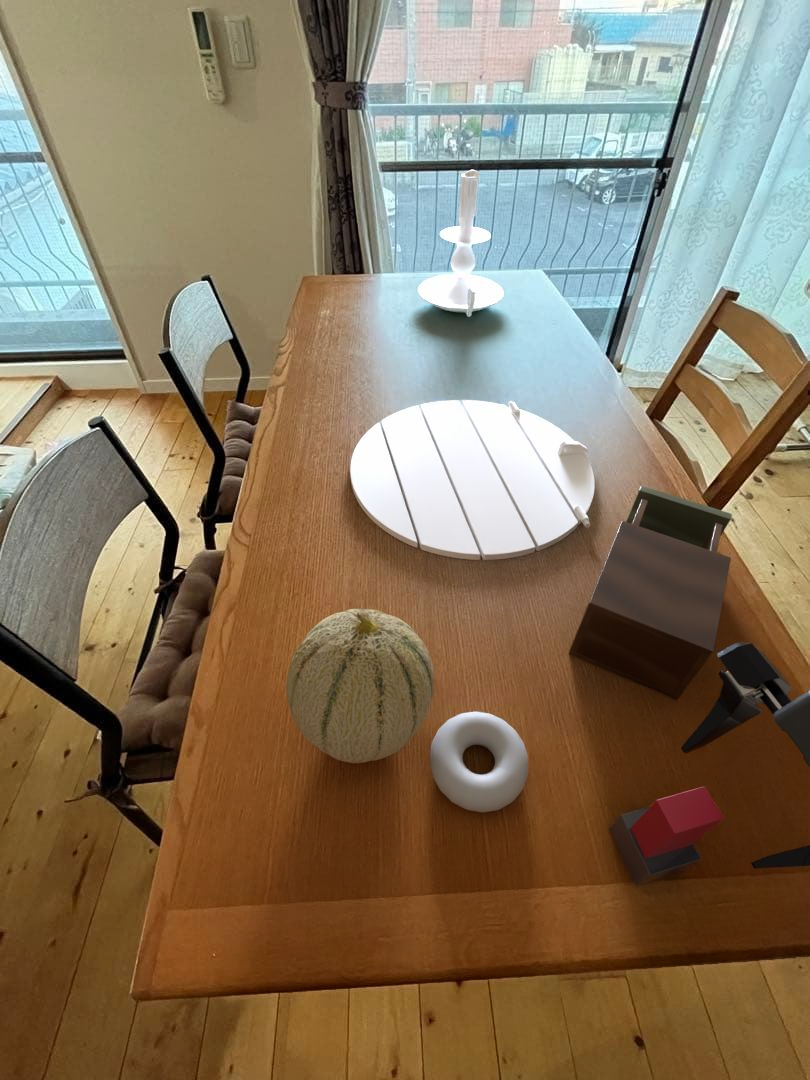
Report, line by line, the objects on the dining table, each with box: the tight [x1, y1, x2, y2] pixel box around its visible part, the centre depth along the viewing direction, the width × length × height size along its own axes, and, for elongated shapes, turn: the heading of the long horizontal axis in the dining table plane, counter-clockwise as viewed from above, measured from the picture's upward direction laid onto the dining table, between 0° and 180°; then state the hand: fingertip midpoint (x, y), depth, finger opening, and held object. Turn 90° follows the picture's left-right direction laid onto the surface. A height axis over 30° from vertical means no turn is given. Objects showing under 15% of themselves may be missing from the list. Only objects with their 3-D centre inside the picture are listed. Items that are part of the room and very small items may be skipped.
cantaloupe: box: [285, 608, 435, 764], centre depth 55 cm, size 15×15×15 cm
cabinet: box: [568, 520, 732, 701], centre depth 65 cm, size 15×13×10 cm
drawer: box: [625, 484, 733, 553], centre depth 73 cm, size 18×11×8 cm, turn 151°
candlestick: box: [417, 169, 505, 317], centre depth 124 cm, size 21×25×28 cm
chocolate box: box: [631, 786, 725, 859], centre depth 46 cm, size 4×3×7 cm, turn 104°
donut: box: [429, 711, 529, 814], centre depth 56 cm, size 10×4×10 cm
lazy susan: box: [349, 399, 596, 561], centre depth 89 cm, size 40×39×3 cm
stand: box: [608, 805, 702, 887], centre depth 50 cm, size 5×5×4 cm
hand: (716, 804), depth 45 cm, fingers open, 9 cm apart
